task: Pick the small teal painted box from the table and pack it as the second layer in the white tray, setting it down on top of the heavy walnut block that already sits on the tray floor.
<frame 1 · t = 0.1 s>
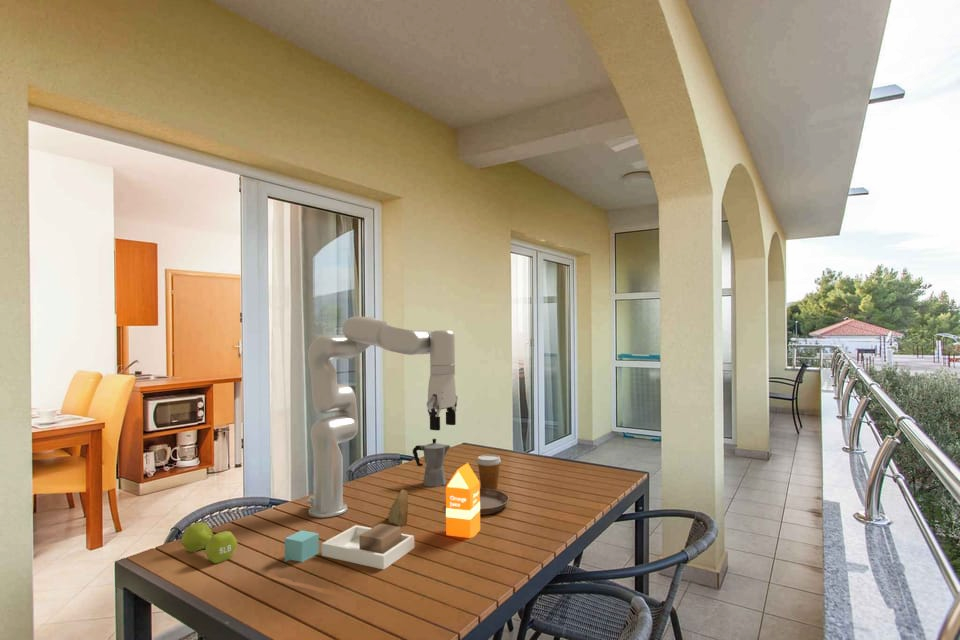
hand: (443, 427, 149), 31 cm above the table, fingers open, 9 cm apart
plant saucer: (479, 507, 170), on the table
disposable coffee cup: (489, 489, 190), on the table
teal box: (301, 558, 130), on the table
orange juice: (463, 534, 146), on the table
white tray: (368, 554, 132), on the table
coffeepot: (431, 484, 198), on the table
rock: (397, 524, 154), on the table
walnut block: (380, 554, 130), point 1 cm above the table, touching white tray
dumbbell: (208, 556, 133), on the table
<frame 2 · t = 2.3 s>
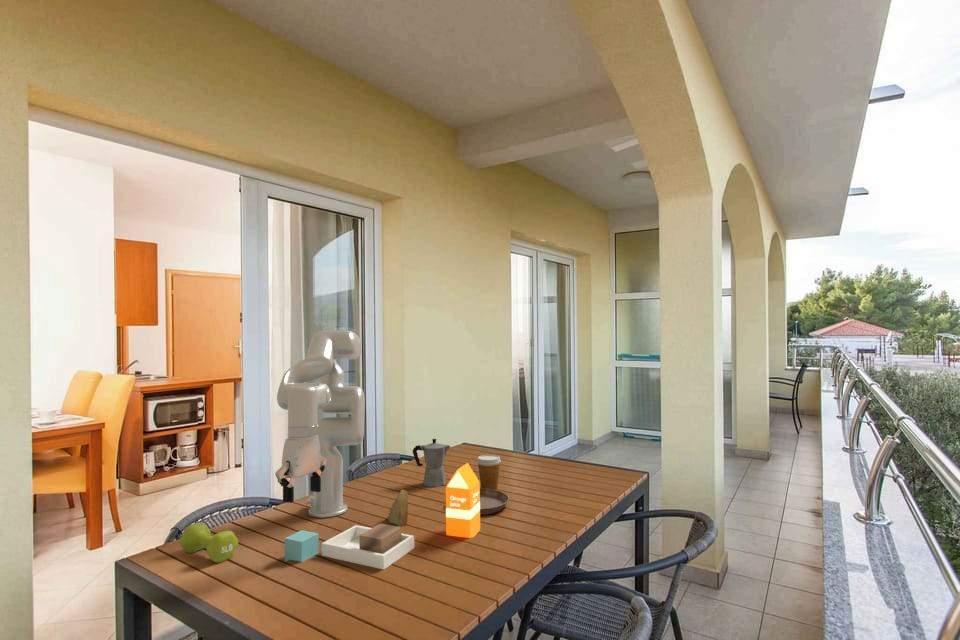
hand: (302, 496, 131), 16 cm above the table, fingers open, 9 cm apart
nothing on the table moved.
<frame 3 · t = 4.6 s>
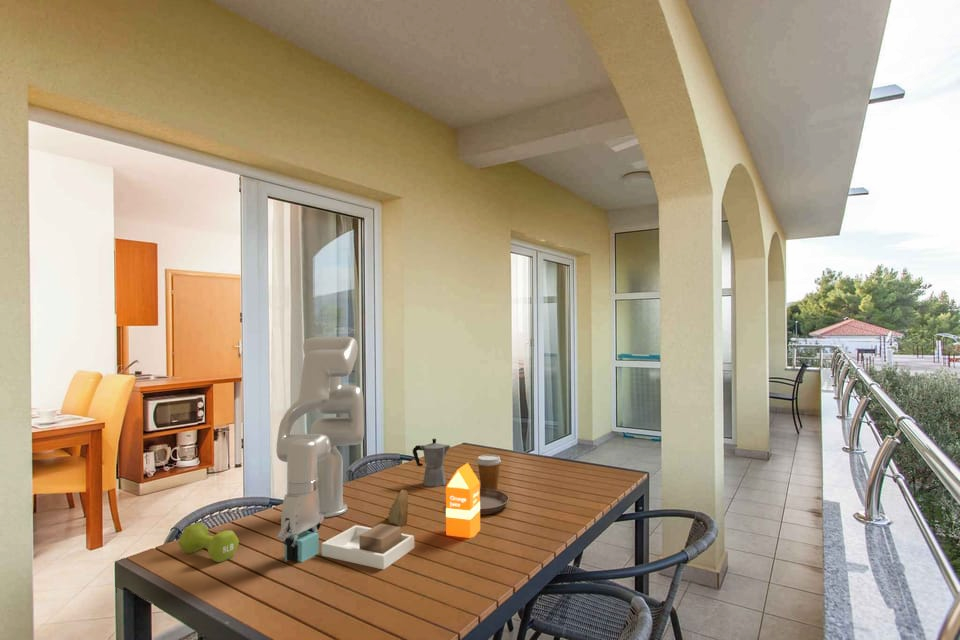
hand: (301, 554, 130), 1 cm above the table, fingers closed on teal box, 5 cm apart
teal box: (301, 558, 130), on the table, touching gripper
everything else where it was.
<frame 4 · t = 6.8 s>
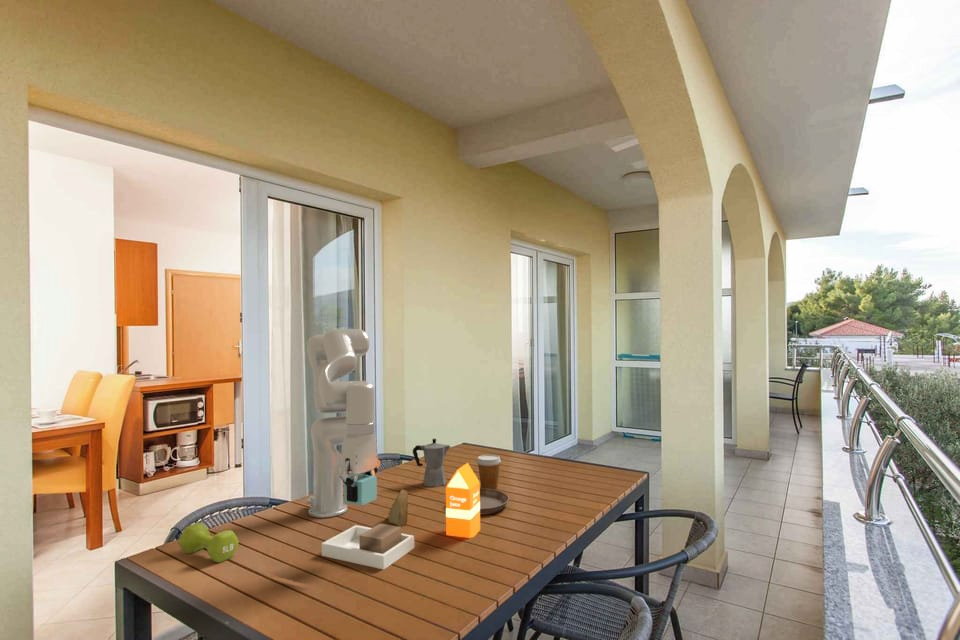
hand: (360, 496, 131), 16 cm above the table, fingers closed on teal box, 5 cm apart
teal box: (360, 500, 131), point 15 cm above the table, touching gripper
everything else where it was.
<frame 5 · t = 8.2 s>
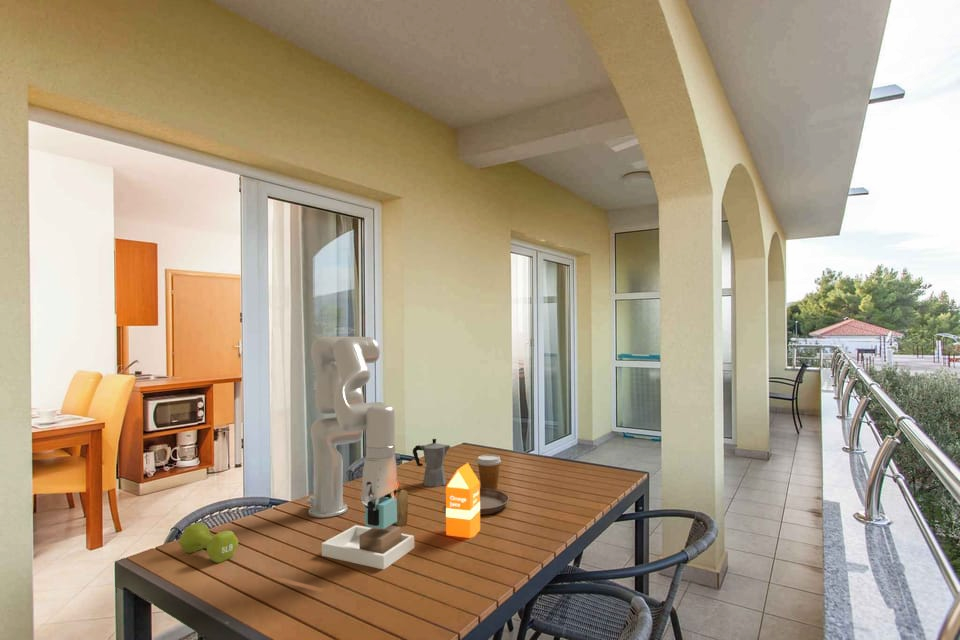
hand: (381, 519, 131), 10 cm above the table, fingers closed on teal box, 5 cm apart
teal box: (381, 523, 131), point 9 cm above the table, touching gripper
everything else where it was.
when the fingers open (9 cm above the table, at t = 9.1 s): teal box drops 2 cm, resting on walnut block.
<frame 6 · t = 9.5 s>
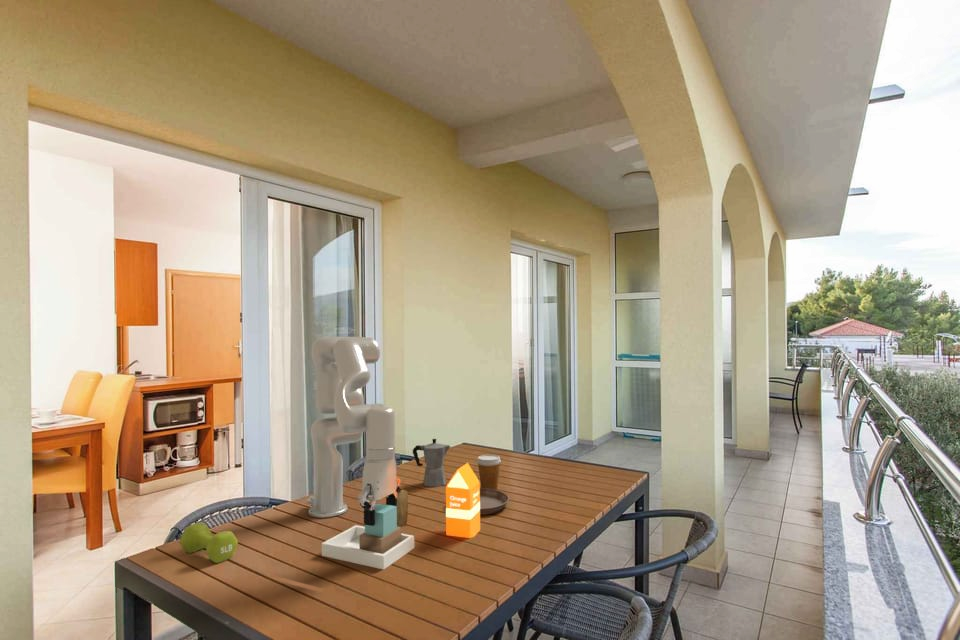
hand: (380, 518, 131), 10 cm above the table, fingers open, 9 cm apart
teal box: (380, 531, 131), point 7 cm above the table, touching walnut block
walnut block: (380, 554, 130), point 1 cm above the table, touching white tray, teal box
everything else where it was.
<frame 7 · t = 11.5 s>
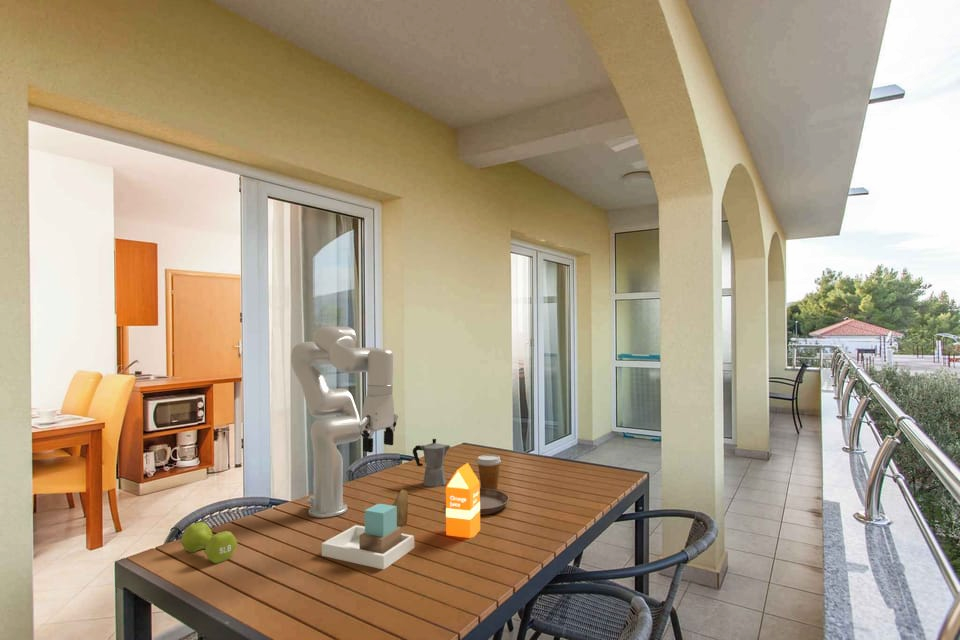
hand: (378, 448, 146), 26 cm above the table, fingers open, 9 cm apart
nothing on the table moved.
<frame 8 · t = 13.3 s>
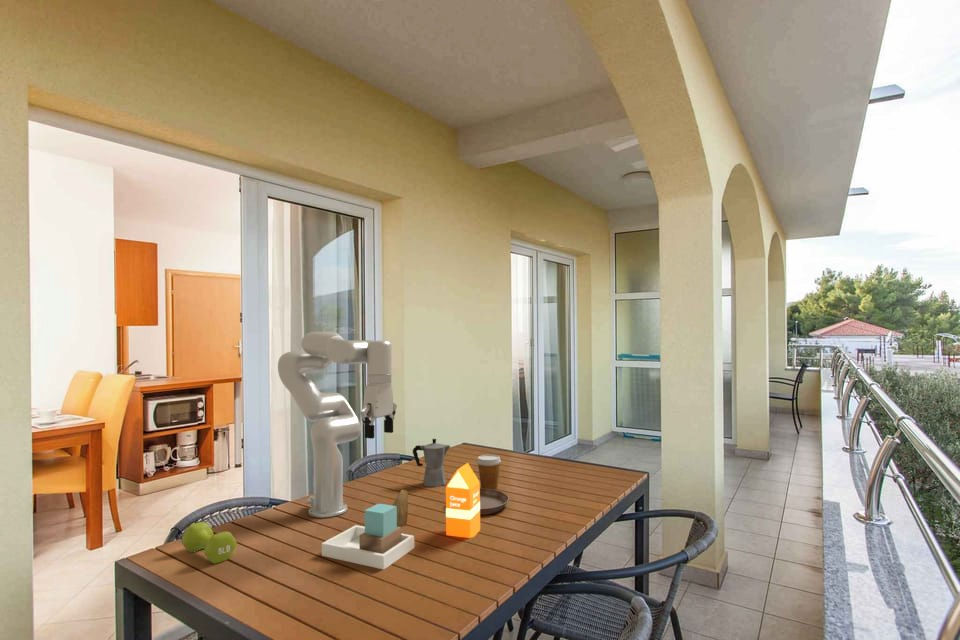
hand: (379, 435, 152), 28 cm above the table, fingers open, 9 cm apart
nothing on the table moved.
at the end: teal box inside the target area on the walnut block (0.0 cm from its centre), point 6.0 cm above the walnut block's base; teal box tilted 0°; the gripper is holding nothing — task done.
